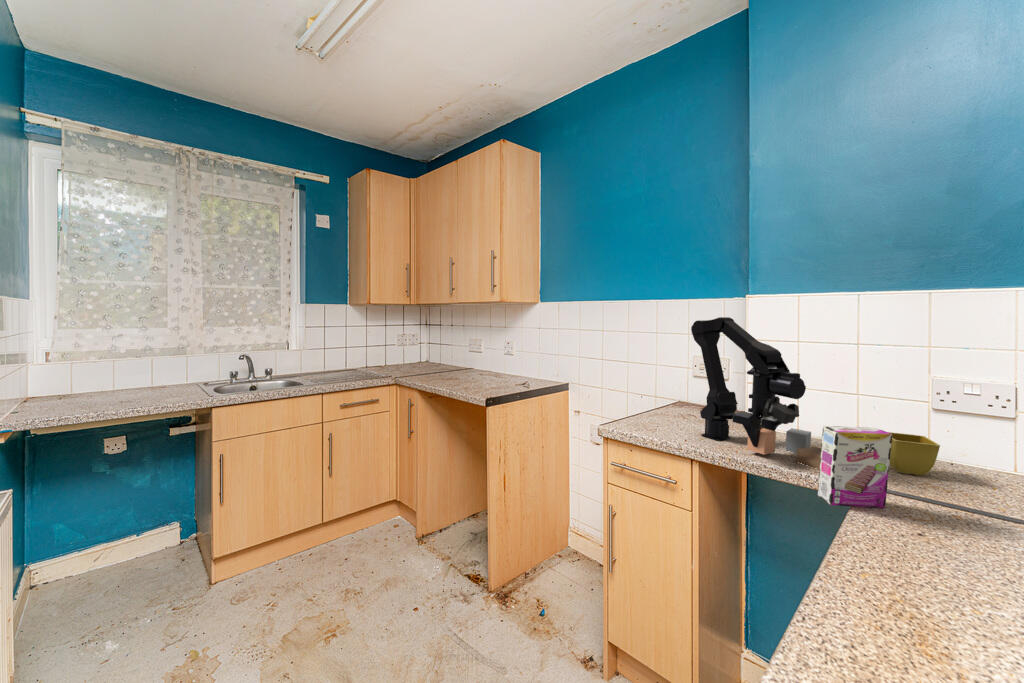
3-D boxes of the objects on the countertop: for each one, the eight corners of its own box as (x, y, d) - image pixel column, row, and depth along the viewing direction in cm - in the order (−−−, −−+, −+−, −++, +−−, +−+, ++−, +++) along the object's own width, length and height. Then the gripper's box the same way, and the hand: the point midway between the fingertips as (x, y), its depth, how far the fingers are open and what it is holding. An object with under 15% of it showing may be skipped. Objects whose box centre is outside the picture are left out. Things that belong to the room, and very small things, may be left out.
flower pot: (921, 468, 111) (924, 435, 111) (938, 480, 103) (941, 445, 103) (879, 463, 115) (881, 431, 114) (892, 474, 107) (894, 440, 106)
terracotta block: (747, 449, 123) (748, 429, 122) (758, 446, 125) (759, 427, 124) (764, 454, 118) (765, 433, 118) (774, 451, 120) (776, 431, 120)
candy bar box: (831, 506, 89) (836, 431, 88) (816, 496, 94) (821, 425, 93) (888, 509, 88) (893, 433, 87) (870, 498, 93) (875, 426, 92)
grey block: (785, 451, 125) (786, 431, 124) (790, 447, 128) (791, 428, 128) (805, 455, 121) (806, 435, 121) (810, 451, 125) (811, 431, 124)
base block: (795, 463, 116) (796, 448, 115) (813, 459, 118) (813, 446, 118) (822, 472, 109) (823, 457, 109) (840, 468, 112) (841, 454, 111)
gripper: (771, 400, 109) (768, 459, 110) (813, 394, 117) (809, 448, 118) (732, 393, 119) (730, 446, 120) (773, 387, 127) (770, 438, 128)
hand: (761, 445), depth 121 cm, fingers closed on terracotta block, 5 cm apart
